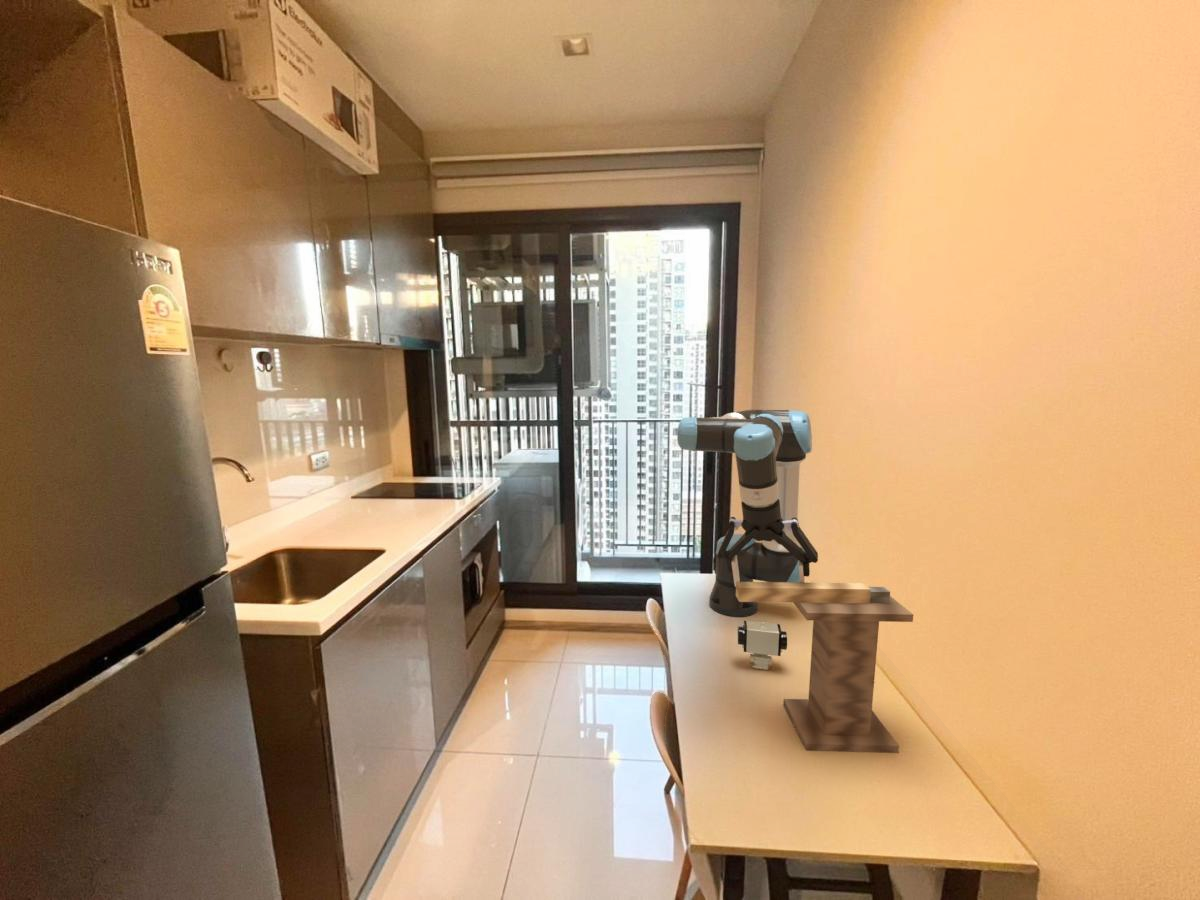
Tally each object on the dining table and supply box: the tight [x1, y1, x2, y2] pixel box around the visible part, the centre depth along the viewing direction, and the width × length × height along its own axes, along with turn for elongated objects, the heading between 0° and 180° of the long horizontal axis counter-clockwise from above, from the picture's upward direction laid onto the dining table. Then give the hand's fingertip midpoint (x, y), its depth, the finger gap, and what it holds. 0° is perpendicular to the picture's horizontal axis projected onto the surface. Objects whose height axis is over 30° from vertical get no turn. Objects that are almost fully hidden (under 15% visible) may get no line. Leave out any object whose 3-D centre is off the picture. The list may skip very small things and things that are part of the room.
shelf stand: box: [782, 595, 914, 754], centre depth 104 cm, size 20×14×28 cm
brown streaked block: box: [736, 581, 891, 604], centre depth 102 cm, size 30×3×3 cm, turn 88°
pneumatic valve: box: [737, 620, 788, 671], centre depth 128 cm, size 6×12×12 cm, turn 77°
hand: (769, 585), depth 110 cm, fingers open, 13 cm apart
